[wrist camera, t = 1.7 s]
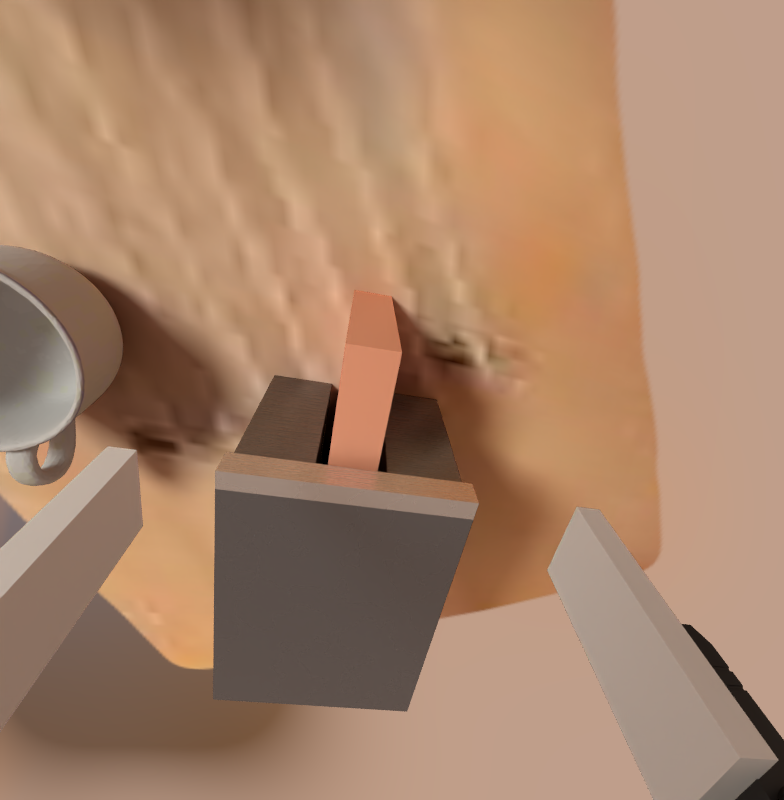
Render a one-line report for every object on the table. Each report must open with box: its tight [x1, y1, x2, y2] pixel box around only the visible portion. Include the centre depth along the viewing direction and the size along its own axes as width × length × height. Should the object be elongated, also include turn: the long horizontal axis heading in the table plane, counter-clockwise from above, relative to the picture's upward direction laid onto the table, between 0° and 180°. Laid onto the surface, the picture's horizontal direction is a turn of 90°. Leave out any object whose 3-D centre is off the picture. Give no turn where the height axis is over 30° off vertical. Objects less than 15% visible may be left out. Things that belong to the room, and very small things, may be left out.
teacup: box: [0, 245, 123, 486], centre depth 26 cm, size 14×11×8 cm
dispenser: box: [213, 375, 479, 711], centre depth 29 cm, size 17×12×13 cm
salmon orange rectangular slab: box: [328, 290, 402, 471], centre depth 26 cm, size 12×2×11 cm, turn 169°
